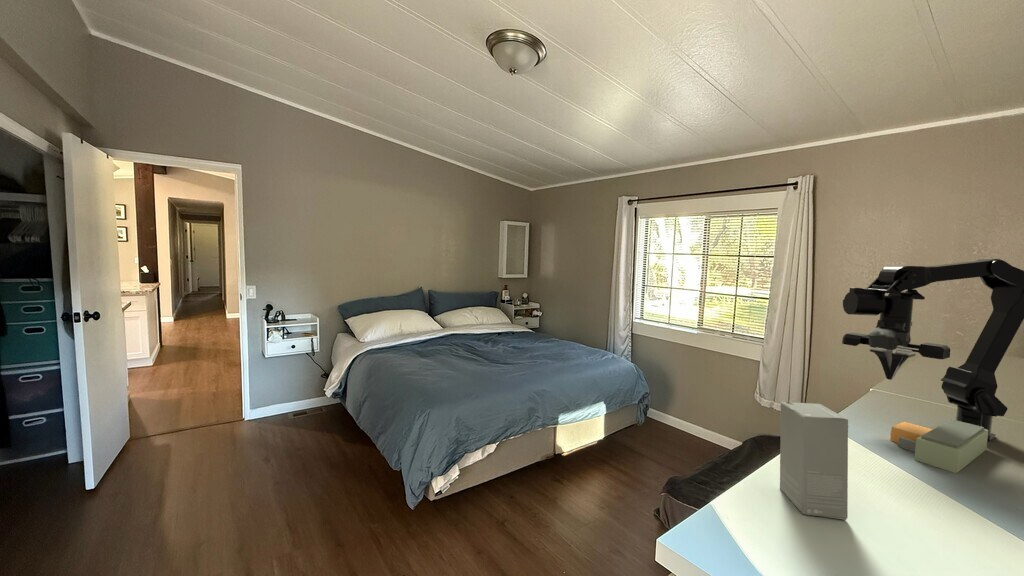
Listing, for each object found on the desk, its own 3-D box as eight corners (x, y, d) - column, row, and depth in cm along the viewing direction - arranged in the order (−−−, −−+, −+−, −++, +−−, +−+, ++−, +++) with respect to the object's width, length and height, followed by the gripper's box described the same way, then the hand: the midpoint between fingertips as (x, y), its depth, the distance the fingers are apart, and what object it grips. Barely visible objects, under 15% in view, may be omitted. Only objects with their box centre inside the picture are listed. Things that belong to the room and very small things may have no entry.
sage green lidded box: (923, 432, 98) (925, 412, 98) (986, 449, 90) (988, 427, 89) (888, 451, 87) (891, 428, 87) (956, 473, 78) (959, 447, 78)
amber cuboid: (902, 435, 96) (903, 421, 96) (937, 446, 91) (939, 431, 91) (890, 441, 93) (891, 426, 93) (926, 452, 88) (927, 436, 88)
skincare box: (848, 522, 62) (857, 421, 61) (796, 515, 63) (804, 415, 62) (818, 491, 70) (826, 402, 69) (772, 486, 72) (779, 398, 71)
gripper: (835, 313, 103) (830, 373, 104) (938, 324, 87) (931, 395, 88) (854, 311, 109) (848, 368, 110) (954, 321, 93) (947, 388, 94)
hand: (889, 379), depth 101 cm, fingers closed
